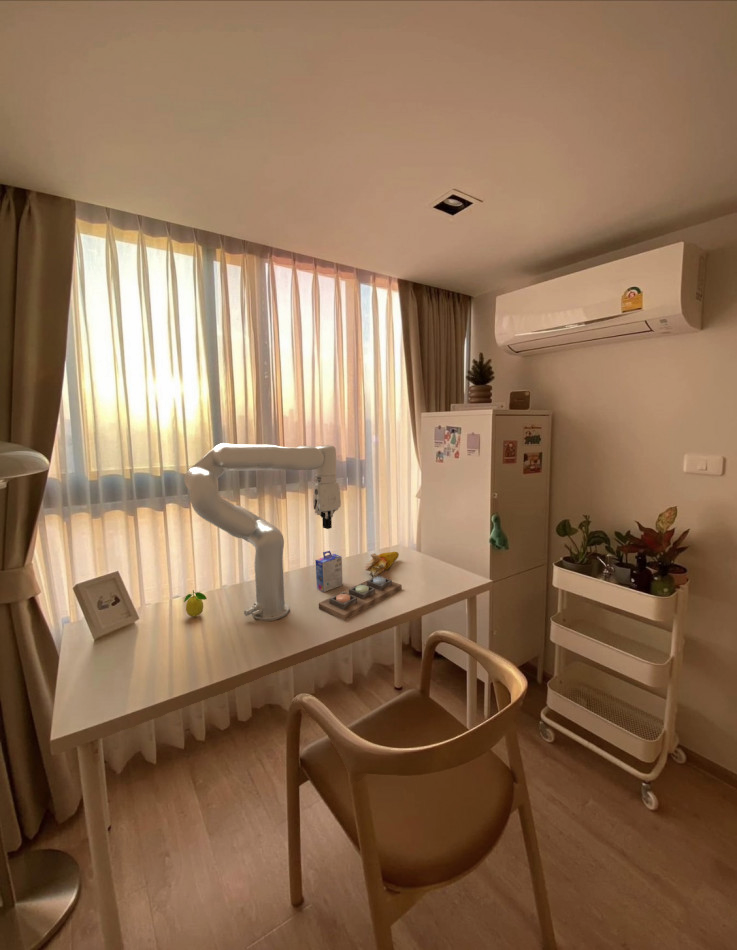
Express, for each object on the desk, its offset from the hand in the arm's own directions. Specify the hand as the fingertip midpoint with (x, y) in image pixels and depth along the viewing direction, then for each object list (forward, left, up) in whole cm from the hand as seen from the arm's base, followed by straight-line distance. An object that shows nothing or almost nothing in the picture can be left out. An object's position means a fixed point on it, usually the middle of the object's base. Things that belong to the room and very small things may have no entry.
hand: (327, 527), depth 151 cm
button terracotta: (-3, -11, -25) cm, 27 cm away
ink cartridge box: (+6, +6, -27) cm, 29 cm away
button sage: (+7, -11, -25) cm, 28 cm away
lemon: (-41, +23, -27) cm, 54 cm away
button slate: (+17, -11, -25) cm, 32 cm away
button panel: (+7, -11, -27) cm, 30 cm away
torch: (+34, +1, -27) cm, 44 cm away
